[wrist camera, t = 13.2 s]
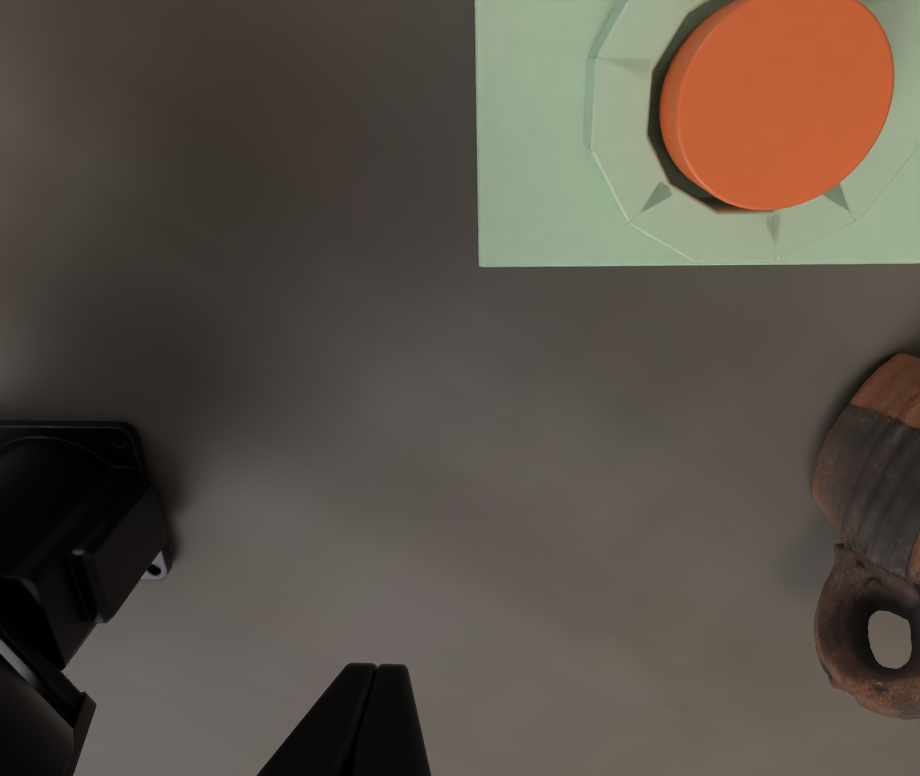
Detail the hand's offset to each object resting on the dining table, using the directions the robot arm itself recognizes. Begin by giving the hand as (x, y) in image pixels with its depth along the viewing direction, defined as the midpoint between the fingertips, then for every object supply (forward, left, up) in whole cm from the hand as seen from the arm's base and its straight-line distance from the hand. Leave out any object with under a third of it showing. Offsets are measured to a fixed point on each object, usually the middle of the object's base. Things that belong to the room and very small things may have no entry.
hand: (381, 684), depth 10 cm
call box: (+7, +7, -13) cm, 16 cm away
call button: (+7, +7, -9) cm, 14 cm away
